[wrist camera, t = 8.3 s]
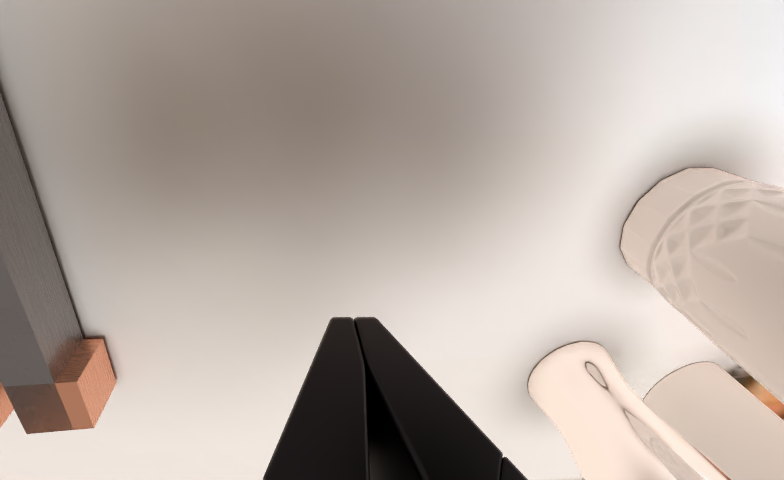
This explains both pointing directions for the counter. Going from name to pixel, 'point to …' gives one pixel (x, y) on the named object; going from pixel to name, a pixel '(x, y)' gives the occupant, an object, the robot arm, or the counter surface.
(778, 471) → the beige tall box
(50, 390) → the bar
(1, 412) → the base
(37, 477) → the counter surface
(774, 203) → the white cup
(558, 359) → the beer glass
